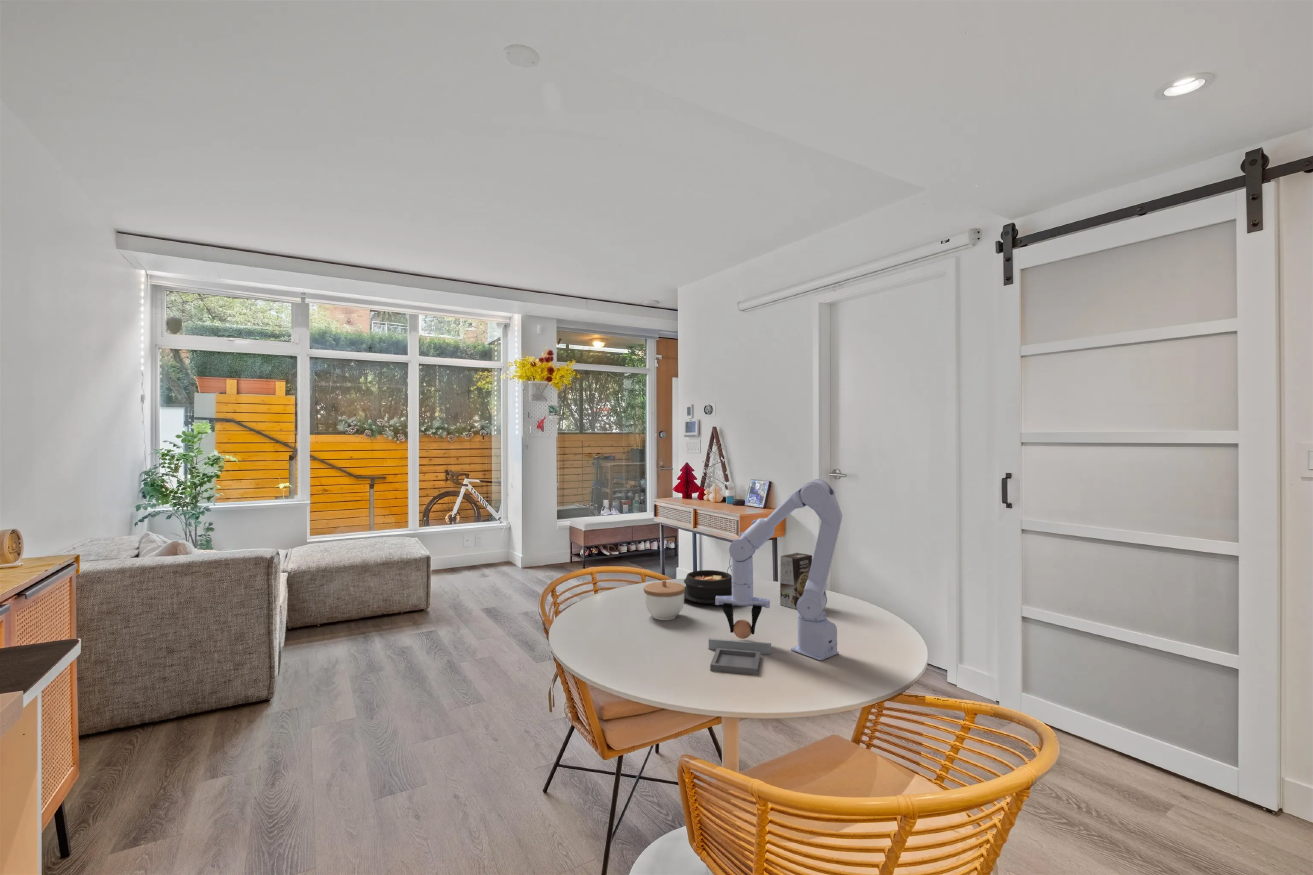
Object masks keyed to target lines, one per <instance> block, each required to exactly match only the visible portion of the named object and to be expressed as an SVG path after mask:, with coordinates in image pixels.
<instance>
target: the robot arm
mask: <svg viewBox="0 0 1313 875" xmlns="http://www.w3.org/2000/svg"><path fill="white" fill-rule="evenodd" d="M805 507H808V508H809V509H811V510H813V511H814V513H815V514H816V515H817V516H818V518H819V519H820V520H821V522H820V526H819V531H818V535H817V539H816V542H815V543H816V544H815V547H814V552H813V555H812V564H811V568H810V572H809V576H808V580H807V583H806V586H805V589H804V592H803V595H802V596H801V597H800V598H799V600H798V601H797V609H796V610H797V645H795V646H792V647H790V651H793V652H796V653H798V654H801V655H804V656H807V657H809V658H812V659H815V660H818V661H823V660H825V659H828V658H830V657H833V656H835V655H838V654H839V653H840V652H839V650H838V628H837V625H836V624H835V622H832V621H830V619H828V618H827V617H828V616H827V613H826V611H825V610H824V608H825V607H826V606H827V604H828V597H827V586H828V579H829V575H830V574H829V573H830V570H831V566H832V562H833V558H834V554H835V549H836V547H837V546H836V545H837V540H838V538H839V532H840V528H841V524H842V521H843V520H842V519H843V513H842V510H841V508H840V505H839V502H838V500H837V496H836V492H835V490H834V489H833V488H832V486H831V485H830V484H829V483H828V482H827V481H826V480H824V479H822V478H821V479H820V478H816V479H813V480H811V481H810V482H809V481H808V482H806V483H805V484H803V486H802V487H801V488H798V489H797V490H795V491H794V492H793V493H791V494H790V495H789V496H788V497H787V498H786V499H784V500H783V501H782V502H781V503H780V504H779V505H778V506H777V507H776V508H775V509H774V510H773V511H772V513H770V514H769V515H768V517H766V518H764V517H759V518H758V519H756V518H755V519H754V520H752V521H751V525H750V526H749V527H748V528H747V529H745V531H741V532H740V533H739V535H738V536H739V537H738V538H737V539H734V540H732V542H731V543H730V544H729V548H728V551H729V552H728V553H729V555H730V557H731V576H732V596H716V598H715V604H714V605H716V606H720V605H722V611H723V613H724V615H725V617H726V619H727V622H728V626H729V631H730V633H731V634H734V631H733V626H734V624H735V622H734V621H735V620H734V611H735V610H734V607H735V606H739V607H740V606H742V607H751V627H752V629H751V635H755V632H756V625H757V622H758V619H759V616H760V615H761V612H762V609H763V608H765V609H770V608H771V599H769V598H763V597H762V598H761V597H757V596H754V564H753V563H754V562H753V560H754V559H753V556H754V554H755V553H756V550H759V549H760V548H761V547H762V546H763V545H764V544H765V543H766V542H768V541H769V540H771V538H772V537H774V535H775V531H776V530H775V529H776V526H778V525H779V524H780V523H781V522H782V521H784V519H785V518H786V517H788V516H789V515H790V514H791V513H793V511H795V510H796V509H802V508H805Z"/></svg>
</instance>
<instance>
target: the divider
mask: <svg viewBox="0 0 1313 875" xmlns="http://www.w3.org/2000/svg"><path fill="white" fill-rule="evenodd" d="M716 648H724V649H736V650H747V651H759V652H760V655H761V654H763V655H772V643H771V642H761V641H749V640H748V641H747V640H737V639H723V638H714V637H713V638H711V637H710V638H708V650H714V651H716Z"/></svg>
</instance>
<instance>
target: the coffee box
mask: <svg viewBox="0 0 1313 875" xmlns="http://www.w3.org/2000/svg"><path fill="white" fill-rule="evenodd" d="M812 559H813V555H811V554H807V553H800V552H794V553H790V554H789V553H788V554H784V555H780V565H779V568H780V572H779V573H780V574H779V575H780V576H779V578H780V579H779V584H780V585H779V605H780V606H784V607H787V608H790V609H793V610H797V601H798V600H799V598H800V597H801V596H802V595H803V592H804V589H805V586H806V583H807V580H808V576H809V572H810V568H811V564H812Z"/></svg>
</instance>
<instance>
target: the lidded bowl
mask: <svg viewBox="0 0 1313 875" xmlns="http://www.w3.org/2000/svg"><path fill="white" fill-rule="evenodd" d="M684 595H685V585H684V584H682V583H678V582H675V581H667V580H666V579H663V580H662V581H656V582H650V583H647V584H645V585H644V586H643V600H644V605H645V608H646V610H647V612H648V613H649V614H650V615H651V616H652V618H653V619H655V620H659V621H670V620H675V619H676V618H677V616H678V615H679V613H681V611H682V610H683V607H684V604H685V603H684V602H685V598H684Z"/></svg>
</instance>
